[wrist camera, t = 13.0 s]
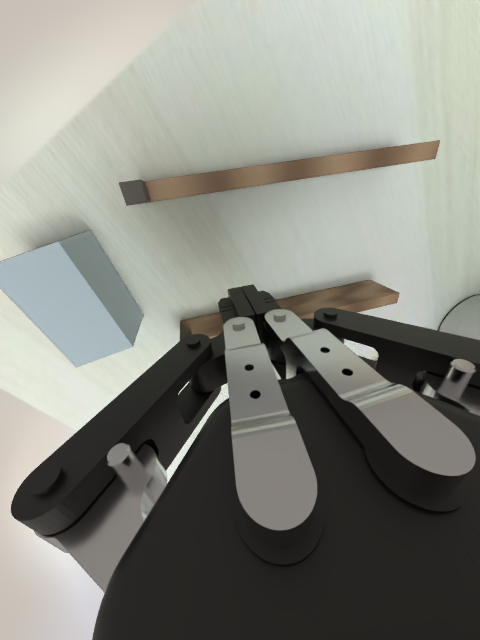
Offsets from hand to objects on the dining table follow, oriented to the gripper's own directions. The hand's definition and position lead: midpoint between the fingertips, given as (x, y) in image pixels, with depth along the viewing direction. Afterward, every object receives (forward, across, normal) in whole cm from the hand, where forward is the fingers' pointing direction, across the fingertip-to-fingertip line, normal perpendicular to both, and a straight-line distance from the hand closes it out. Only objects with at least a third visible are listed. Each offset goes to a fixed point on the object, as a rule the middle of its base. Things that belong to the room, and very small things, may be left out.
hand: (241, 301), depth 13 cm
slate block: (+11, +12, +1) cm, 17 cm away
